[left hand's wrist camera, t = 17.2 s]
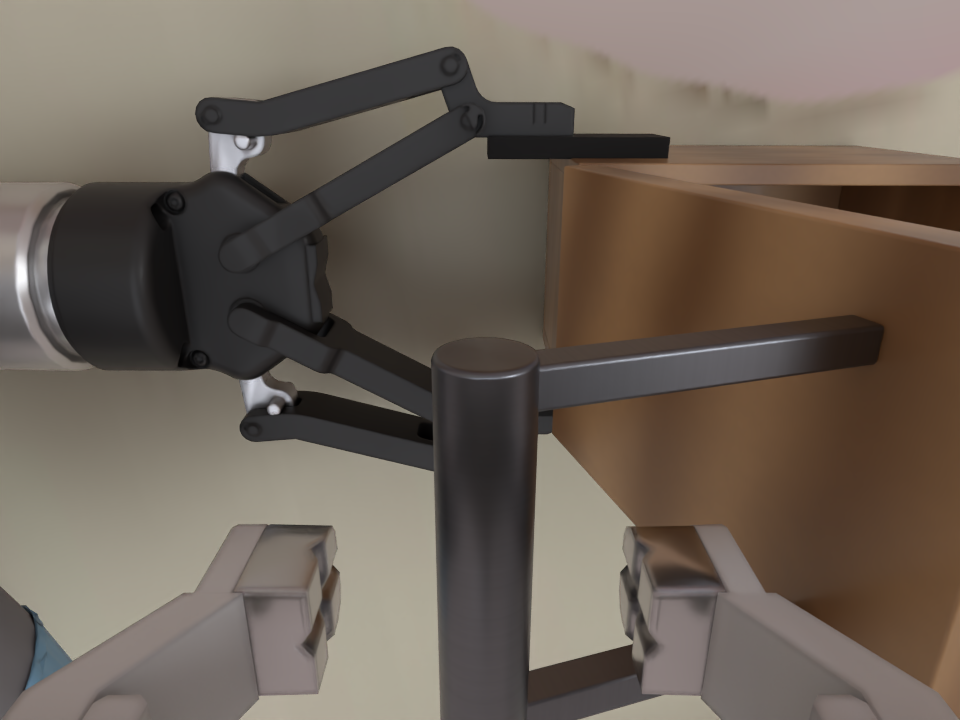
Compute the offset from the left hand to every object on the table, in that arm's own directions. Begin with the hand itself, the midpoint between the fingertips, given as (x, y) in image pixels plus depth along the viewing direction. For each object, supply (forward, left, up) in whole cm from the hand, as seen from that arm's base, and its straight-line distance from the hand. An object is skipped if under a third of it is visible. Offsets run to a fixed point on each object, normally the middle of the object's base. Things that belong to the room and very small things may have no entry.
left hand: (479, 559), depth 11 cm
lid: (-6, +1, -7) cm, 9 cm away
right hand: (-7, +1, -18) cm, 19 cm away
